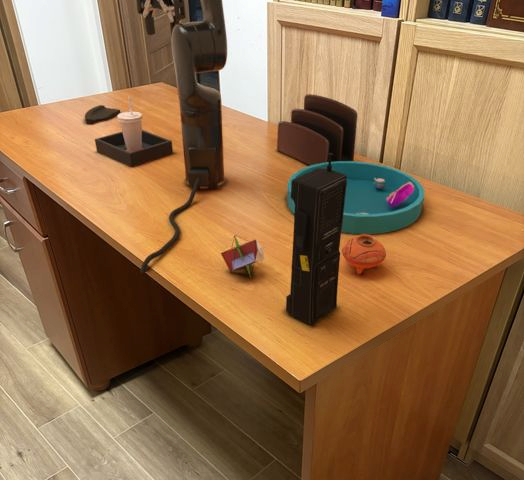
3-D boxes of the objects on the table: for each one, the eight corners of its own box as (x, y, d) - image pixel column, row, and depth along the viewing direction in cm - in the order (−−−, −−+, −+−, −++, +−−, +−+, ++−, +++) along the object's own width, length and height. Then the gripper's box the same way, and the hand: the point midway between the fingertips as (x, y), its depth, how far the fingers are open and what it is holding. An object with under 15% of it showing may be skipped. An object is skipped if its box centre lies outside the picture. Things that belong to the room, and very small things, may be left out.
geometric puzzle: (213, 272, 93) (240, 238, 89) (212, 252, 98) (238, 219, 94) (246, 291, 96) (274, 259, 92) (244, 271, 101) (269, 240, 97)
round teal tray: (424, 240, 107) (430, 213, 103) (277, 226, 111) (278, 199, 107) (418, 182, 129) (423, 157, 126) (296, 172, 133) (297, 148, 130)
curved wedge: (73, 122, 163) (72, 116, 162) (100, 110, 172) (99, 104, 171) (96, 125, 160) (95, 119, 159) (122, 113, 170) (121, 107, 169)
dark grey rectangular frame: (173, 153, 143) (171, 140, 141) (131, 167, 135) (129, 153, 133) (138, 139, 151) (136, 127, 149) (96, 151, 143) (94, 139, 141)
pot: (374, 252, 102) (383, 224, 97) (385, 281, 98) (395, 254, 92) (334, 253, 101) (340, 225, 96) (343, 283, 97) (350, 256, 91)
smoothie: (144, 157, 141) (137, 100, 132) (120, 156, 141) (111, 100, 132) (149, 148, 145) (142, 93, 136) (125, 148, 146) (117, 93, 137)
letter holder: (304, 143, 150) (307, 89, 141) (353, 165, 138) (360, 107, 129) (276, 150, 145) (277, 95, 136) (325, 173, 133) (330, 114, 124)
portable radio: (309, 330, 84) (322, 176, 68) (280, 315, 87) (286, 164, 71) (338, 309, 88) (357, 159, 72) (309, 295, 91) (321, 149, 75)
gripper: (122, -44, 125) (132, 35, 136) (166, -40, 119) (173, 43, 129) (145, -46, 130) (154, 31, 140) (189, -42, 123) (194, 38, 134)
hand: (163, 36), depth 135 cm, fingers open, 8 cm apart
